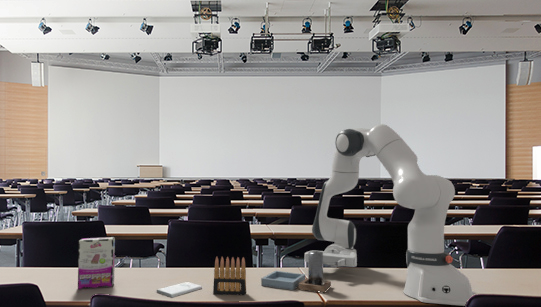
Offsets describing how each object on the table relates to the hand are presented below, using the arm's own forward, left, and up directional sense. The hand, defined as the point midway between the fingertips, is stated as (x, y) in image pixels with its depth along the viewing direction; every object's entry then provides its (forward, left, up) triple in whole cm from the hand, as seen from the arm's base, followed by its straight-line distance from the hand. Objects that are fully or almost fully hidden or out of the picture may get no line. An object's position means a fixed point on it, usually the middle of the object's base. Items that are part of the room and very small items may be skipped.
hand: (324, 262), depth 142 cm
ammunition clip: (+23, +30, -7) cm, 38 cm away
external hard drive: (+40, +34, -7) cm, 53 cm away
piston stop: (0, +10, -7) cm, 12 cm away
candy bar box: (+69, +42, -7) cm, 81 cm away
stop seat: (0, +10, -7) cm, 12 cm away
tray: (+12, +10, -7) cm, 17 cm away
